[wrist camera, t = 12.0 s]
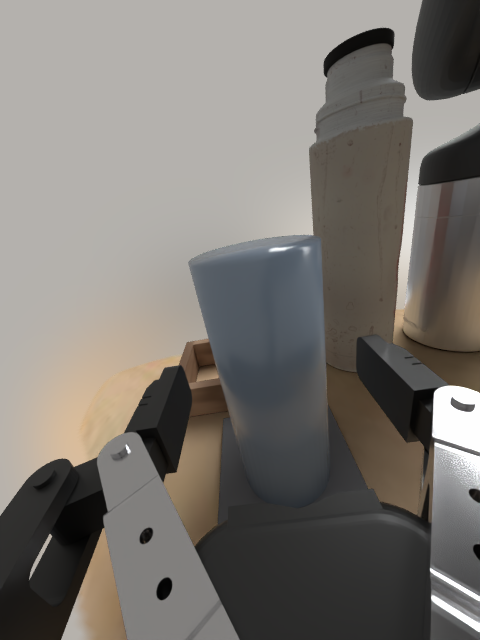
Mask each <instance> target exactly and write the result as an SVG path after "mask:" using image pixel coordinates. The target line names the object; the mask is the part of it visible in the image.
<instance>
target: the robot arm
mask: <svg viewBox="0 0 480 640" xmlns="http://www.w3.org/2000/svg"><path fill="white" fill-rule="evenodd" d="M412 77H413V84H414V87H415V90H416V92H417V93H418V95H419V96H420V97H421V98H423V99H425V100H439V99H447V98H451V97H455V96H458V95H461V94H465V93H468V92H471V91H475V90H477V89H480V0H423V1H422V5H421V9H420V14H419V18H418V22H417V27H416V33H415V38H414V45H413V53H412ZM418 184H419V186H418V193H417V202H416V211H415V221H414V230H413V239H412V248H411V257H410V266H409V275H408V283H407V293H406V301H405V310H404V318H403V331H404V333H405V334H406V335H407V336H408V337H410V338H411V339H413V340H415V341H417V342H419V343H421V344H424V345H427V346H430V347H434V348H438V349H443V350H450V351H464V352H468V351H480V123H479V124H478V125H477V126H475V127H474V128H472V129H470V130H469V131H467V132H465V133H463V134H462V135H460V136H458V137H456V138H455V139H453V140H451V141H449V142H447V143H445V144H443V145H441V146H439V147H437V148H436V149H434V150H433V151H431V152H429V153H428V154H427V155H426V156H425V157H424V158H423V160H422V163H421V167H420V174H419V183H418ZM356 370H357V374H358V376H359V378H360V380H361V381H362V383H363V384H364V386H365V387H366V388H367V390H368V391H369V392H370V394H371V395H372V396H373V398H374V399H375V400H376V402H377V403H378V404H379V406H380V407H381V409H382V410H383V411H384V413H385V414H386V415H387V417H388V418H389V419H390V421H391V422H392V423H393V425H394V426H395V428H396V429H397V430H398V432H399V433H400V434H401V436H402V437H403V438H404V440H405V441H406V442H415V441H420V442H421V443H422V444H423V446H424V449H423V458H422V471H421V484H420V497H419V506H418V513H417V515H415V514H413V513H411V512H409V511H407V510H405V509H403V508H400V507H397V506H395V505H391V504H388V503H384V502H379V500H378V498H377V496H376V494H375V492H374V489H366V490H358V491H350V492H341V493H336V494H333V495H331V496H329V497H327V498H325V499H322V500H320V501H318V502H316V503H314V504H311V505H309V506H307V507H304V508H294V507H288V506H282V505H276V504H270V503H265V502H260V503H252V504H244V505H236V506H228V520H226V521H224V522H222V523H220V524H219V525H217V526H215V527H214V528H213V529H212V530H210V531H209V532H208V533H207V534H206V535H205V536H204V537H203V538H202V539H201V540H200V541H199V542H198V543H197V544H196V546H195V547H194V545H193V543H192V541H191V539H190V537H189V535H188V533H187V531H186V529H185V527H184V525H183V523H182V521H181V519H180V517H179V514H178V512H177V510H176V508H175V506H174V504H173V502H172V500H171V498H170V496H169V494H168V492H167V490H166V488H165V486H164V484H163V482H164V479H165V475H166V474H168V473H175V472H177V467H178V463H179V459H180V454H181V450H182V446H183V441H184V437H185V433H186V428H187V424H188V420H189V415H190V411H191V407H192V393H191V389H190V386H189V383H188V380H187V377H186V374H185V371H184V368H183V367H182V366H181V365H179V366H173V367H167V368H164V370H163V372H162V374H161V376H160V379H159V380H155V381H154V382H153V383H152V384H151V385H150V386H149V387H148V388H147V389H146V391H145V393H144V395H143V397H142V399H141V401H140V402H139V404H138V405H139V406H138V407H137V408H136V410H135V412H134V414H133V416H132V418H131V420H130V422H129V424H128V426H127V428H126V430H125V432H124V434H121V435H119V436H117V437H115V438H114V439H112V440H111V441H110V442H108V443H107V444H106V445H105V446H104V448H103V449H102V450H101V452H100V453H99V455H98V457H97V458H95V459H92V460H90V461H88V462H85V463H83V464H80V465H78V466H76V467H73V465H72V464H71V463H70V461H69V460H67V459H58V460H54V461H52V462H50V463H48V464H46V465H44V466H43V467H41V468H40V469H38V470H37V471H36V472H35V473H33V474H32V475H31V476H30V477H29V478H28V479H27V480H26V482H25V483H24V484H23V486H22V487H21V489H20V490H19V491H18V492H17V494H16V495H15V496H14V498H13V499H12V501H11V502H10V503H9V505H8V506H7V507H6V509H5V510H4V512H3V513H2V514H1V516H0V640H61V638H62V635H63V633H64V630H65V627H66V625H67V622H68V619H69V617H70V614H71V612H72V609H73V606H74V604H75V601H76V598H77V596H78V593H79V590H80V588H81V585H82V582H83V580H84V577H85V574H86V572H87V569H88V566H89V564H90V561H91V558H92V556H93V553H94V550H95V548H96V545H97V542H98V540H99V537H100V534H101V532H102V529H103V528H104V527H105V532H106V537H107V542H108V547H109V552H110V557H111V562H112V567H113V572H114V577H115V582H116V586H117V591H118V596H119V601H120V606H121V611H122V616H123V621H124V626H125V631H126V636H127V640H480V393H478V392H476V391H473V390H471V389H467V388H464V387H458V386H450V385H449V384H448V383H446V382H445V381H444V380H443V379H441V378H440V377H439V376H438V375H436V374H435V373H434V372H433V371H432V370H430V369H429V368H428V367H427V366H425V365H424V364H422V363H421V362H420V361H419V360H418V359H417V358H414V356H413V355H412V354H411V353H409V352H408V351H407V350H406V349H404V348H402V347H400V346H397V345H395V344H393V343H390V344H388V343H387V342H386V341H385V340H383V339H382V338H381V337H380V336H379V335H377V334H374V335H368V336H362V337H358V338H357V343H356ZM49 534H51V535H52V538H51V540H50V542H49V544H48V546H47V548H46V550H45V552H44V554H43V555H42V558H41V559H40V561H39V563H38V565H37V567H36V569H35V571H34V573H33V575H32V577H31V578H30V580H29V576H30V572H31V568H32V566H33V564H34V562H35V560H36V558H37V556H38V554H39V552H40V550H41V549H42V547H43V545H44V543H45V541H46V539H47V537H48V535H49Z"/></svg>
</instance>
